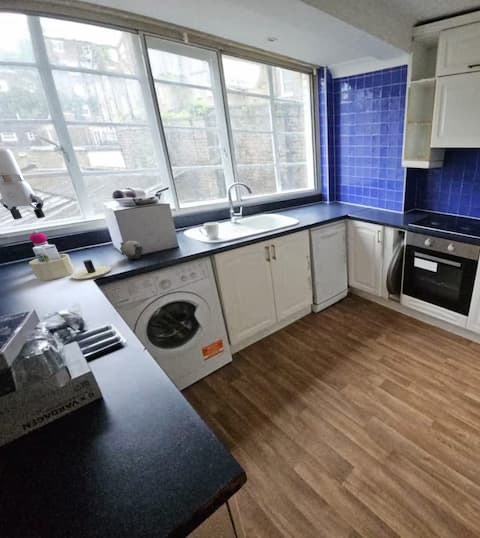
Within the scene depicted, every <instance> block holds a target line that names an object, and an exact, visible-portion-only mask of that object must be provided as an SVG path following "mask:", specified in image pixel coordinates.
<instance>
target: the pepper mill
mask: <svg viewBox="0 0 480 538" xmlns="http://www.w3.org/2000/svg"><path fill="white" fill-rule="evenodd" d="M47 240H48V237H47V235H46V234H45V233H42V232H38V230H37V229H34V230H32V234H30V236H29V241H30V242H31V243H33V245H34V247H36V246H40V245H49V242H48V241H47Z"/></svg>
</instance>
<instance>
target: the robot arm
mask: <svg viewBox="0 0 480 538" xmlns="http://www.w3.org/2000/svg"><path fill="white" fill-rule="evenodd" d="M0 196H1V199H0V205H2V206H3V207H4V208H5V209H6V210H7V211H9V212H10V215H11V217H12V219H13V220H20V219H23V216H22V214H21V212H20V210H19V209H18V207H28V206H29V207H31V208H32V209H33V213H34V214H35V216H36V219H43V218H46V215H45V213H44V211H43V208H44V207H43V206H44V205H45V204H44V203H45V202H44V201H45V199H44V198H42V197H40V196H37V195H36V194H35V192H34V191H33V189H32V187H31V186H30V184H29V183H28V182H27V181H26V180H25V177H24V176H23V173H22V171H21V169H20V167H19V165H18V162H17V160H16V158H15V156H14V153H13V152H12V151H11V149H9V148H7V147H6V148H4V147H3V148H2V147H0Z"/></svg>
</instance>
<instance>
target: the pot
mask: <svg viewBox="0 0 480 538" xmlns="http://www.w3.org/2000/svg"><path fill="white" fill-rule="evenodd" d="M59 256H60V258H61V259H59V260H55V261H51V262H46V263H39V261H38V259H37V258H35V259H32V260H31V261H29V262H28V264H29V266H30V268H31V270H32V272H33V274H34V276H35V278H36V280H38V281H39V282H41V281H42V282H44V281H45V282H46V281H53V280H58V279H61V278H65V277H67V276H71V275H72V273H73V274H75V273H76V267H75V266H74V264H73V262H72V260H71V257H70V255H69V254H68V253H59Z"/></svg>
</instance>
